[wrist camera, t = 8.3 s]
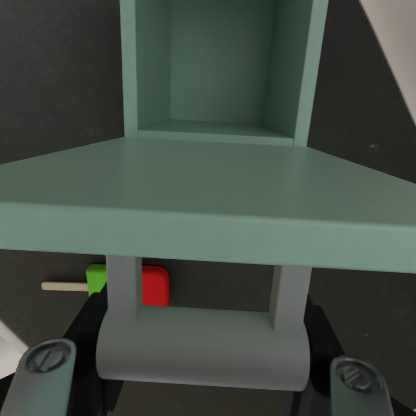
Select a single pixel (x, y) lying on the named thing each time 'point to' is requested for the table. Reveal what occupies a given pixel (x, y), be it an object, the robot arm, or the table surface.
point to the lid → (208, 244)
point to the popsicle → (97, 276)
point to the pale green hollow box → (221, 69)
